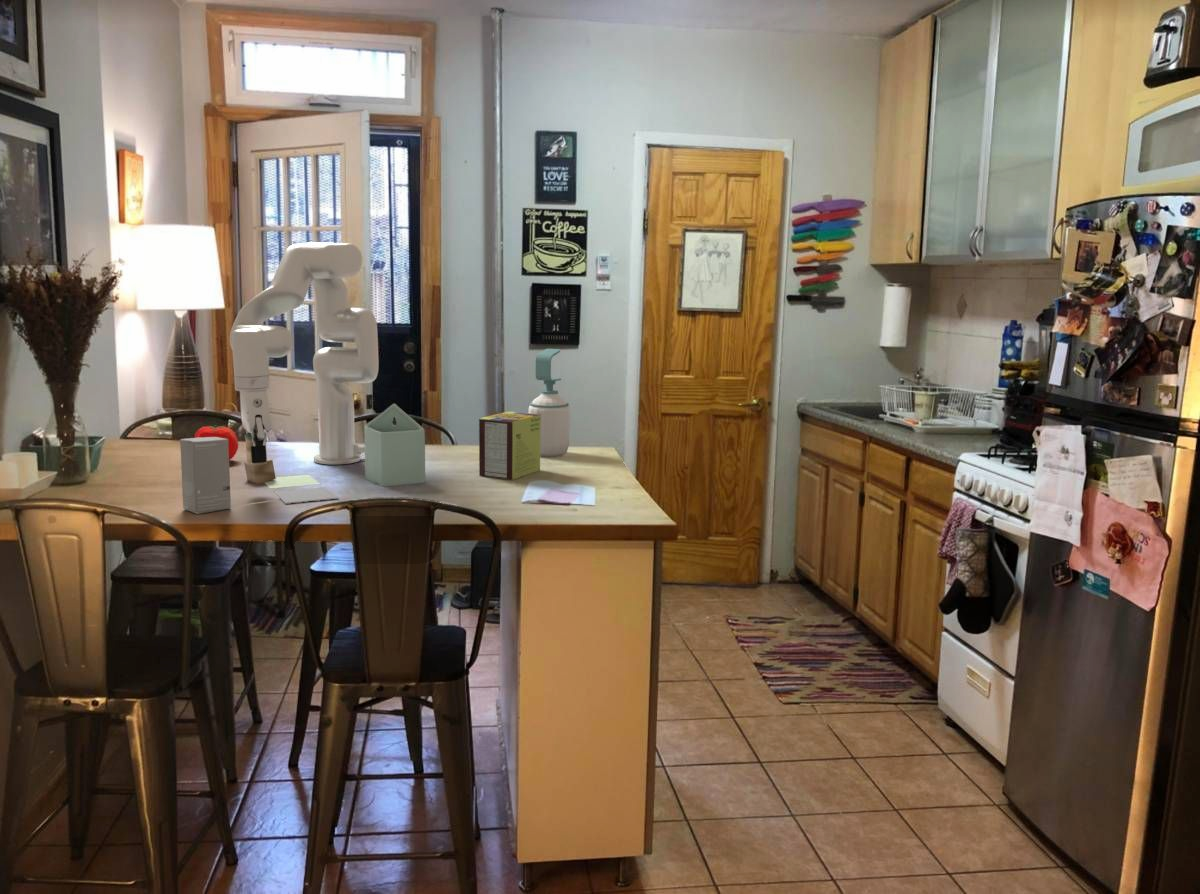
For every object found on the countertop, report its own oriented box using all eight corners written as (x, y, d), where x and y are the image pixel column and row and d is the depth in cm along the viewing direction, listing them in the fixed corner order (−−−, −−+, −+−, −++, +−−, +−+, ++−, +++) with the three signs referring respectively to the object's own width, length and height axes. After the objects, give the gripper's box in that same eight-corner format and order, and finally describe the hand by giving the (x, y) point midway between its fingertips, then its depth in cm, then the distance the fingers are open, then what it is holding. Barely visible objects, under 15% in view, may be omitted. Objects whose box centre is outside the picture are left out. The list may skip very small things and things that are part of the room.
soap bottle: (577, 453, 283) (579, 349, 277) (553, 460, 272) (555, 351, 267) (543, 449, 289) (545, 347, 283) (519, 454, 279) (520, 349, 273)
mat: (308, 476, 243) (308, 474, 243) (320, 485, 233) (320, 483, 233) (260, 480, 237) (260, 478, 237) (270, 490, 227) (270, 488, 227)
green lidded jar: (265, 460, 224) (263, 431, 222) (269, 464, 220) (267, 434, 219) (244, 462, 222) (243, 433, 220) (248, 466, 218) (246, 436, 216)
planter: (351, 484, 235) (349, 405, 232) (366, 477, 243) (364, 401, 239) (413, 488, 232) (412, 409, 228) (425, 482, 240) (425, 405, 236)
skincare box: (196, 515, 202) (192, 442, 199) (181, 509, 207) (177, 438, 204) (233, 508, 208) (230, 438, 206) (218, 503, 213) (214, 433, 210)
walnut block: (266, 476, 238) (263, 457, 237) (275, 479, 235) (272, 459, 234) (247, 481, 235) (244, 462, 234) (256, 484, 232) (253, 464, 230)
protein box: (540, 470, 258) (541, 414, 255) (512, 480, 244) (512, 421, 241) (507, 466, 262) (508, 410, 259) (477, 476, 248) (478, 417, 246)
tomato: (183, 463, 254) (181, 426, 253) (215, 456, 265) (213, 420, 263) (217, 468, 250) (215, 429, 248) (248, 460, 261) (247, 424, 259)
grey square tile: (325, 488, 229) (324, 487, 229) (338, 499, 219) (338, 497, 219) (273, 493, 223) (273, 491, 223) (285, 504, 213) (285, 502, 213)
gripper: (277, 387, 212) (281, 466, 216) (261, 377, 226) (266, 451, 230) (241, 389, 208) (247, 469, 212) (228, 378, 222) (233, 454, 226)
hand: (256, 459), depth 221 cm, fingers closed on green lidded jar, 4 cm apart
